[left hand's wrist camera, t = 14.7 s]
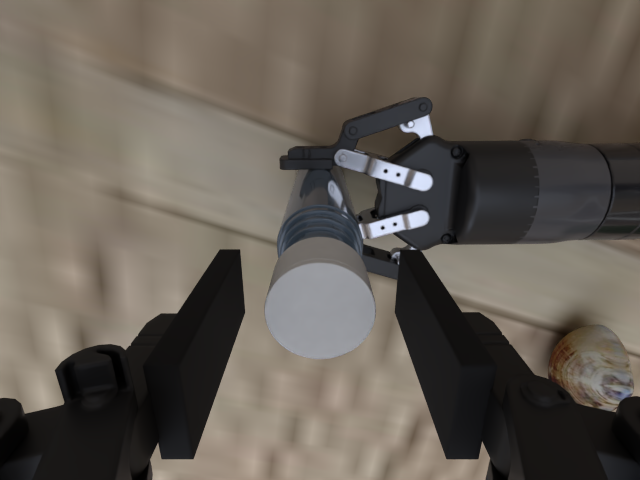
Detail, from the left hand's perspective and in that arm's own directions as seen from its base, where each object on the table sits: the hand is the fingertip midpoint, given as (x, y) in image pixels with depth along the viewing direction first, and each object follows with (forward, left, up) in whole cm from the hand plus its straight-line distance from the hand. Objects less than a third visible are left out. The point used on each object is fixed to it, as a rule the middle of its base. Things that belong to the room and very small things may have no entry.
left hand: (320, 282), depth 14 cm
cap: (0, 0, +2) cm, 2 cm away
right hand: (0, -3, -14) cm, 14 cm away
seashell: (+20, +26, -21) cm, 38 cm away
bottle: (0, 0, -21) cm, 21 cm away
